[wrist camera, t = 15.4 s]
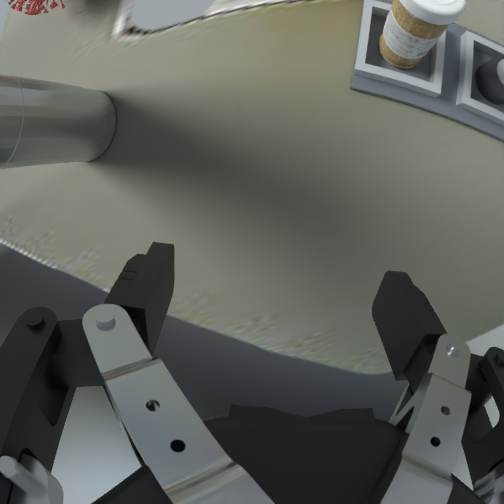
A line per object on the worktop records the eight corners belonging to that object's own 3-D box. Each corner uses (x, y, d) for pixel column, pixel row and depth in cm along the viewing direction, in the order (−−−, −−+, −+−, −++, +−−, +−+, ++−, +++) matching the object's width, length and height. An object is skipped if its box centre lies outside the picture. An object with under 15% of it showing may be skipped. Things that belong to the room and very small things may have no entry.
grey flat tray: (350, 89, 27) (353, 74, 22) (363, -1, 24) (366, -26, 19) (518, 148, 24) (544, 148, 19) (524, 60, 20) (546, 48, 15)
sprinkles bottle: (407, 25, 23) (441, -45, 10) (429, 64, 24) (481, 9, 11) (369, 37, 25) (385, -36, 12) (391, 76, 25) (426, 20, 13)
